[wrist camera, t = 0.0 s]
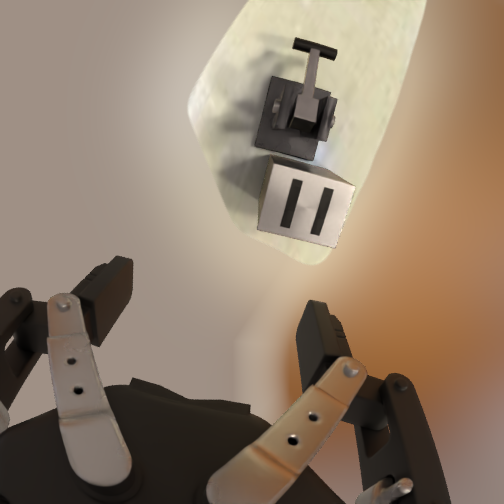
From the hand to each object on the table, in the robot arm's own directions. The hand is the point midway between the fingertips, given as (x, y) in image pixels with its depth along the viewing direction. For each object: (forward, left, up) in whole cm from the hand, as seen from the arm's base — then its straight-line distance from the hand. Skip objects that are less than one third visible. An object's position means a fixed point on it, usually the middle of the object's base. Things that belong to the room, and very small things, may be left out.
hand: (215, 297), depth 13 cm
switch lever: (-14, +4, -22) cm, 26 cm away
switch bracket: (-10, +4, -29) cm, 31 cm away
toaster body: (-1, +6, -29) cm, 30 cm away
